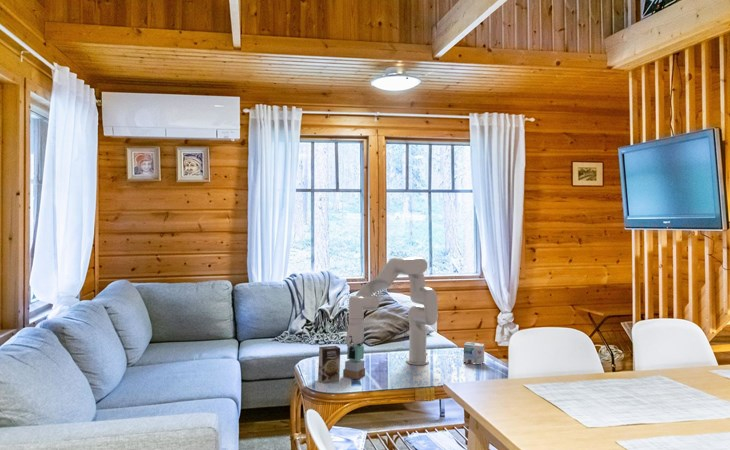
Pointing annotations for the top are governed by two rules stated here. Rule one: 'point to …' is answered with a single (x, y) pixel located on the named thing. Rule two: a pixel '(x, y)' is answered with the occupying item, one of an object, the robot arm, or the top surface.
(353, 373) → the walnut base block
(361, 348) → the teal cube
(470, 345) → the light bulb box
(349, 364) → the slate grey top block
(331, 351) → the coffee box
